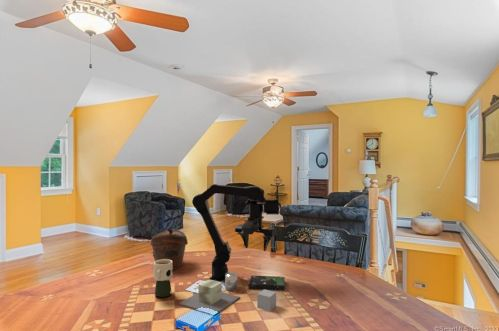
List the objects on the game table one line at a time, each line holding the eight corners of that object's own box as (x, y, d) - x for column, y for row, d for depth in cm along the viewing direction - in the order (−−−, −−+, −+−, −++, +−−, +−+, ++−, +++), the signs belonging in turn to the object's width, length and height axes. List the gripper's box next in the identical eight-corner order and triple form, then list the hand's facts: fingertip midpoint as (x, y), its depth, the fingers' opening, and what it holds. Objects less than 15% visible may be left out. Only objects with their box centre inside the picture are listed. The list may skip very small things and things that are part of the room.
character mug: (166, 301, 115) (166, 266, 115) (148, 300, 116) (148, 266, 116) (176, 290, 126) (176, 257, 126) (159, 289, 127) (159, 257, 127)
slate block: (257, 308, 111) (257, 293, 111) (263, 302, 115) (264, 289, 115) (269, 311, 108) (269, 297, 108) (276, 306, 112) (276, 292, 112)
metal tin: (222, 289, 127) (222, 274, 127) (229, 285, 131) (229, 271, 131) (232, 292, 124) (232, 277, 124) (239, 287, 129) (239, 273, 129)
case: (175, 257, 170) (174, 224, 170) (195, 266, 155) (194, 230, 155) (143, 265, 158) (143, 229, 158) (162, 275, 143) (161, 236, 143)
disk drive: (248, 291, 127) (285, 292, 126) (248, 284, 127) (285, 285, 126) (250, 281, 137) (284, 282, 136) (250, 275, 137) (284, 275, 136)
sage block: (198, 301, 115) (198, 284, 115) (208, 295, 120) (208, 279, 120) (211, 304, 112) (211, 288, 112) (221, 298, 117) (221, 282, 117)
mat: (178, 304, 113) (178, 303, 113) (206, 289, 127) (206, 288, 127) (214, 315, 105) (214, 313, 105) (239, 298, 119) (239, 296, 119)
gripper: (228, 215, 137) (228, 250, 137) (266, 219, 127) (265, 257, 128) (241, 211, 147) (241, 245, 147) (277, 215, 137) (277, 250, 137)
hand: (255, 249), depth 139 cm, fingers open, 9 cm apart
